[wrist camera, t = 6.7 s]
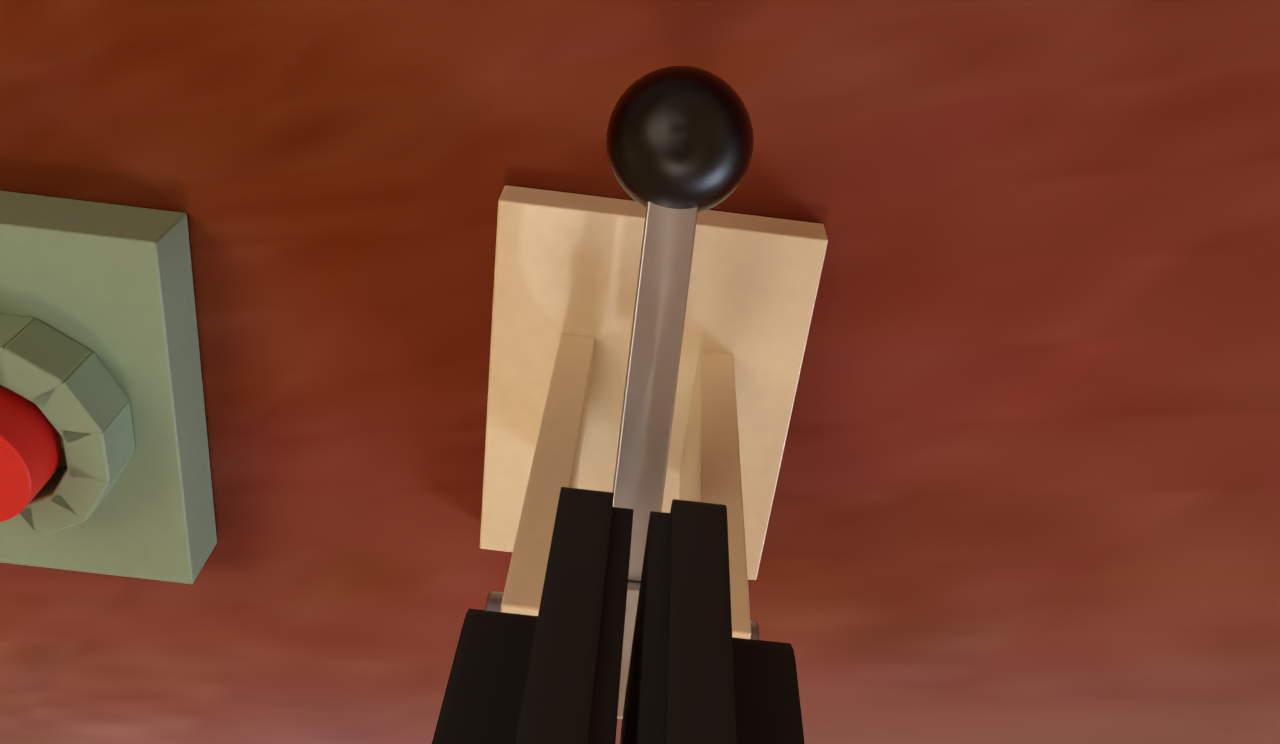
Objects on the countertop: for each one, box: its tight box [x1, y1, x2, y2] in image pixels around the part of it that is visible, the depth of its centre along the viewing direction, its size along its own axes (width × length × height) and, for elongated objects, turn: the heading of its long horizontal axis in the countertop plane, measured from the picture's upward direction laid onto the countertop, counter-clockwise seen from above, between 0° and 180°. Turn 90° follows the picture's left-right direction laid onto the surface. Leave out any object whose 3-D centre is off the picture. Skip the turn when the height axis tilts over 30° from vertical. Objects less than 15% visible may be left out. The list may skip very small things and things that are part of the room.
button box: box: [0, 191, 217, 584], centre depth 33 cm, size 12×9×4 cm
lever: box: [606, 66, 753, 719], centre depth 25 cm, size 14×3×3 cm
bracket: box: [480, 185, 828, 640], centre depth 29 cm, size 12×9×13 cm
